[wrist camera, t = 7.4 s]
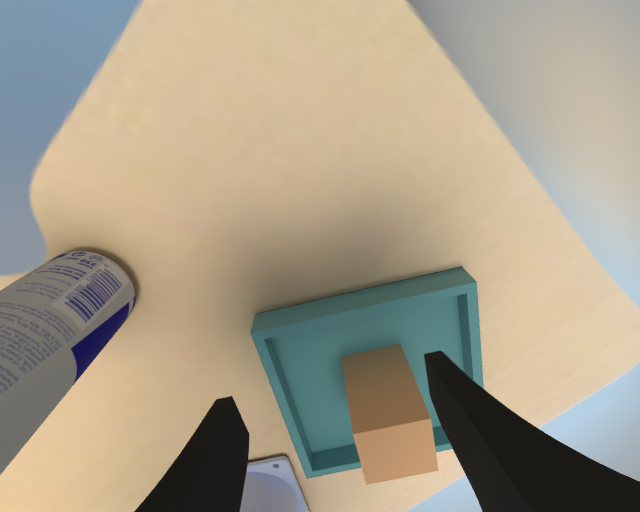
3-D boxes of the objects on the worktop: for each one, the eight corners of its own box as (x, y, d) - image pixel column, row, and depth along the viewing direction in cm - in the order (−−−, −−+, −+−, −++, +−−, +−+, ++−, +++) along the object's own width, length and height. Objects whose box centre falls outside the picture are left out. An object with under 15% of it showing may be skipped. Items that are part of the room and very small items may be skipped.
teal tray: (306, 453, 28) (306, 478, 26) (255, 314, 22) (250, 333, 21) (474, 418, 27) (486, 441, 25) (462, 266, 22) (476, 281, 20)
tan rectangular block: (352, 400, 25) (366, 484, 19) (340, 356, 23) (353, 434, 18) (408, 388, 25) (438, 470, 19) (400, 343, 23) (430, 418, 18)
